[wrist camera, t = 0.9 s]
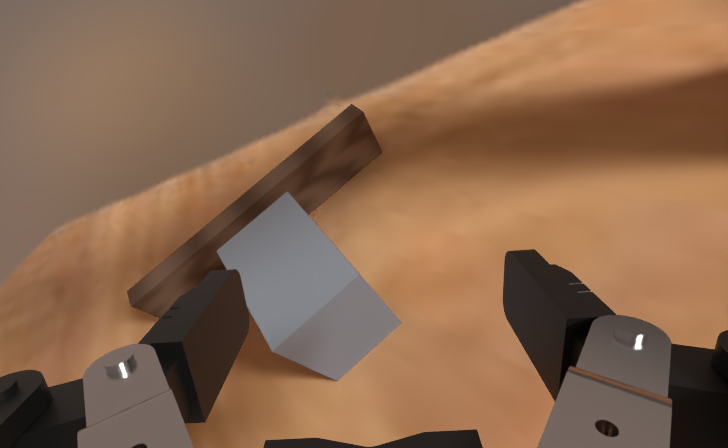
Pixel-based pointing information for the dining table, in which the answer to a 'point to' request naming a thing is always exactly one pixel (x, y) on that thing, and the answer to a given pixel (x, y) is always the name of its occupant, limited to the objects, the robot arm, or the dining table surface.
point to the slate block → (306, 291)
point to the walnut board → (263, 206)
